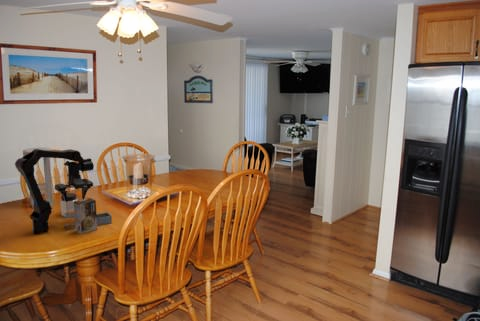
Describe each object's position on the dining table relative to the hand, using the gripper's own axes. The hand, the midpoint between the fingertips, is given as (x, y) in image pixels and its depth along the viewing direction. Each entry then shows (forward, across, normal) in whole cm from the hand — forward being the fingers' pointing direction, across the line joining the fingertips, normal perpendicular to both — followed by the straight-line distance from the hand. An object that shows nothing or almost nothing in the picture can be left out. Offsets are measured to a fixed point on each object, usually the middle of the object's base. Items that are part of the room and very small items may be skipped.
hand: (74, 200), depth 210 cm
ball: (+4, -5, -7) cm, 10 cm away
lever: (+6, 0, -4) cm, 7 cm away
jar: (+12, +2, +14) cm, 19 cm away
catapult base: (+12, -1, -8) cm, 15 cm away
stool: (+12, -3, +44) cm, 46 cm away
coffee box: (+12, -1, -16) cm, 20 cm away
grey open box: (+12, +11, -10) cm, 19 cm away
